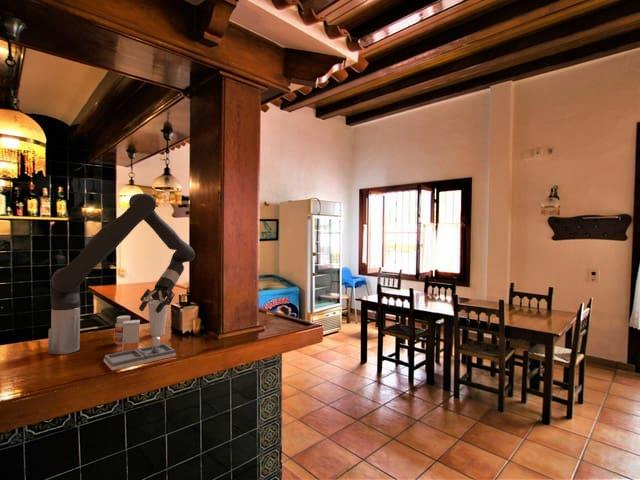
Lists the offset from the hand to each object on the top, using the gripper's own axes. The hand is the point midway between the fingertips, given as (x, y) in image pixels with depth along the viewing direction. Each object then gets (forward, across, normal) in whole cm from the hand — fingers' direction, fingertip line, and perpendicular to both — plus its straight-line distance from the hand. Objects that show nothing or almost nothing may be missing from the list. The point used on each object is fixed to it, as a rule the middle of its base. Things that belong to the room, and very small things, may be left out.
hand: (148, 311), depth 149 cm
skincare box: (+17, 0, +4) cm, 17 cm away
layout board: (+21, +11, -1) cm, 24 cm away
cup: (+2, -6, +19) cm, 20 cm away
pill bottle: (+12, -11, +8) cm, 18 cm away
